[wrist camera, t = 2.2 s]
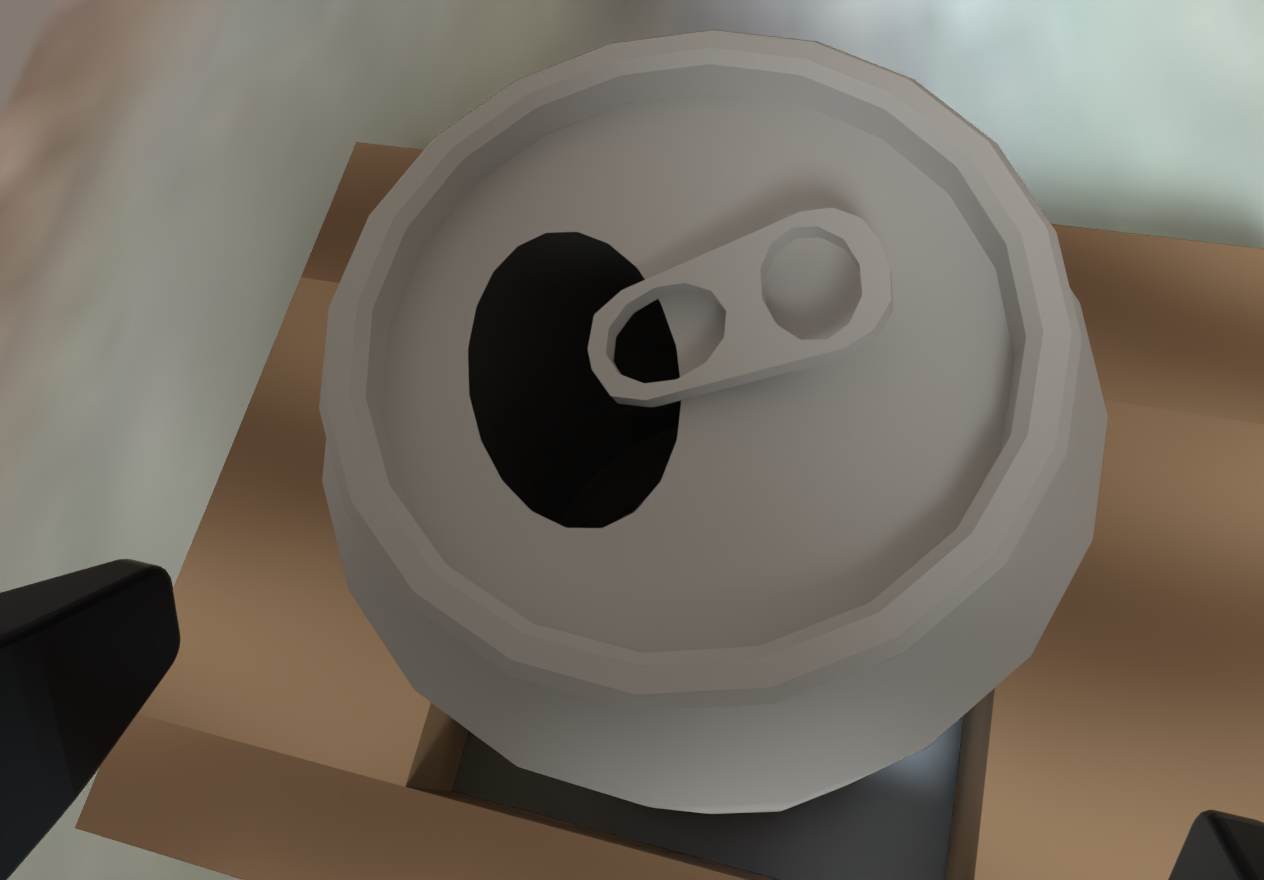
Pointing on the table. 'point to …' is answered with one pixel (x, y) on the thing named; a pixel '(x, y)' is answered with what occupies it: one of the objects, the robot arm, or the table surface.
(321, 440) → the pocket board
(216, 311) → the table surface
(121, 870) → the table surface
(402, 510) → the can
